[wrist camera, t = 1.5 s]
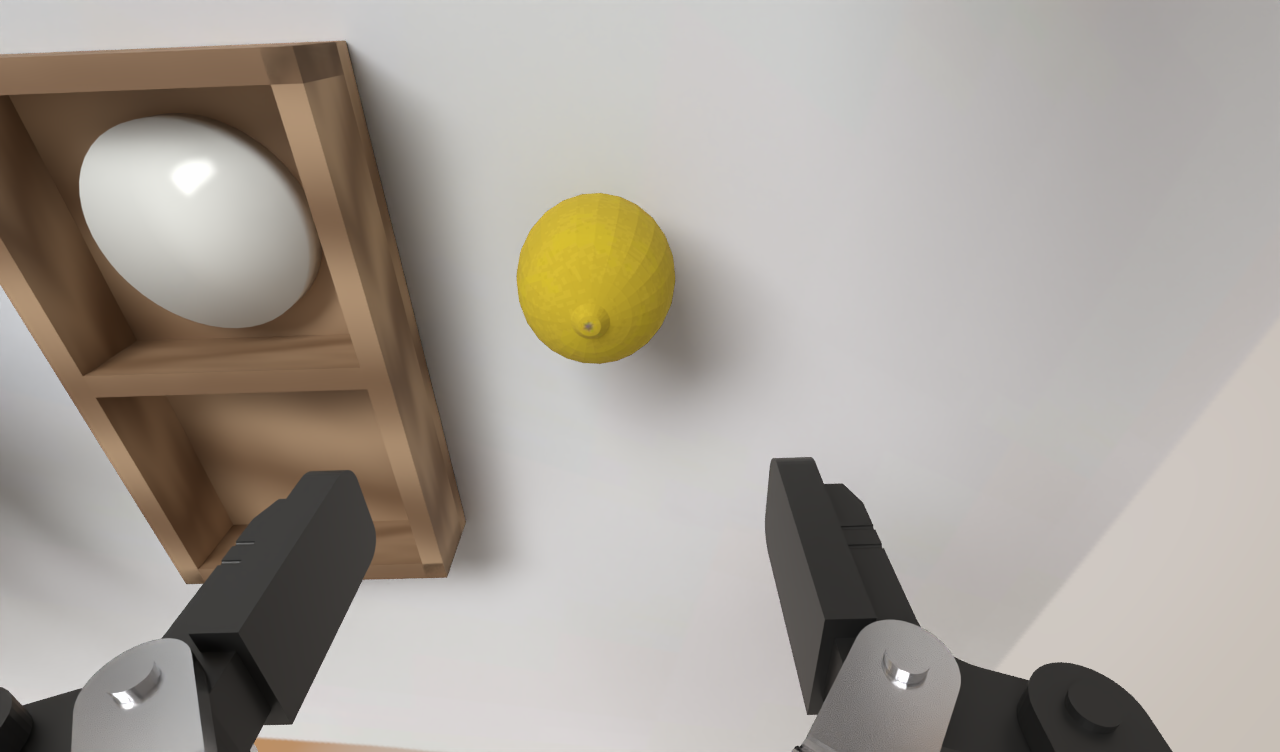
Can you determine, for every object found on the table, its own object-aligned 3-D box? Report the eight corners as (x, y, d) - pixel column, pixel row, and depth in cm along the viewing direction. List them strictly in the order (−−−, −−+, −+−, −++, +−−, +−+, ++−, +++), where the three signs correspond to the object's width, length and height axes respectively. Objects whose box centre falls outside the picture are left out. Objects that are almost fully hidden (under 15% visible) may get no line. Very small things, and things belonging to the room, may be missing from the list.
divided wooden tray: (-20, 55, 21) (-137, 63, 18) (345, 40, 21) (292, 46, 18) (230, 527, 33) (186, 584, 30) (465, 521, 33) (447, 577, 30)
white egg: (62, 117, 22) (33, 122, 21) (283, 108, 22) (265, 113, 21) (161, 318, 26) (141, 331, 25) (346, 312, 26) (334, 325, 25)
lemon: (615, 141, 23) (605, 196, 16) (695, 254, 25) (716, 345, 18) (506, 225, 25) (456, 308, 18) (591, 324, 27) (575, 432, 20)
